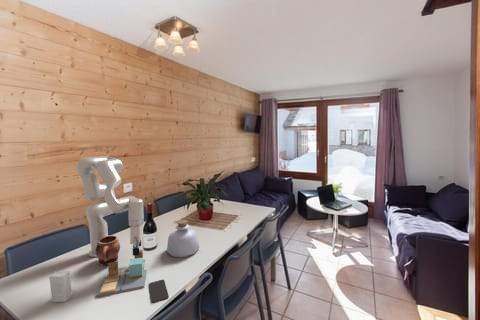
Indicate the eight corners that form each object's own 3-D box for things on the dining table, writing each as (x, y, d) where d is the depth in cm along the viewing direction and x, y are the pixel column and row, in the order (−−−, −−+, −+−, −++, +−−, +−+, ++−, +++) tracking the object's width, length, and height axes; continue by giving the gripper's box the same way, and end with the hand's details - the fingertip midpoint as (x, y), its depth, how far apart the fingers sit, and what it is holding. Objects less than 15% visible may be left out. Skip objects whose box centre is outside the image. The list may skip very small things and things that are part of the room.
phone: (164, 278, 116) (169, 297, 102) (164, 280, 116) (169, 298, 102) (148, 283, 112) (151, 302, 99) (148, 284, 112) (151, 304, 99)
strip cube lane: (133, 262, 129) (132, 251, 128) (145, 260, 131) (144, 249, 130) (129, 278, 115) (128, 265, 114) (142, 276, 117) (141, 263, 116)
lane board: (104, 278, 117) (104, 274, 117) (146, 271, 123) (146, 267, 123) (96, 296, 104) (96, 292, 103) (144, 287, 110) (144, 283, 109)
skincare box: (72, 295, 105) (70, 270, 104) (65, 302, 101) (63, 276, 99) (58, 295, 105) (56, 271, 103) (51, 302, 100) (48, 276, 99)
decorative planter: (120, 268, 126) (118, 244, 124) (93, 274, 121) (91, 249, 119) (121, 252, 144) (120, 230, 142) (99, 256, 139) (97, 234, 137)
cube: (131, 270, 120) (130, 259, 120) (143, 268, 122) (142, 257, 122) (129, 276, 115) (128, 265, 114) (142, 274, 117) (141, 263, 116)
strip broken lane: (107, 275, 117) (106, 263, 117) (120, 273, 119) (119, 261, 118) (104, 284, 111) (103, 270, 110) (118, 281, 112) (117, 268, 112)
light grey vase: (202, 243, 154) (202, 216, 152) (194, 258, 135) (193, 228, 133) (174, 242, 156) (173, 215, 154) (161, 257, 137) (160, 227, 135)
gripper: (131, 216, 133) (132, 244, 136) (126, 228, 117) (127, 259, 119) (145, 215, 136) (145, 242, 138) (142, 226, 119) (142, 257, 122)
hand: (137, 250), depth 129 cm, fingers open, 9 cm apart
